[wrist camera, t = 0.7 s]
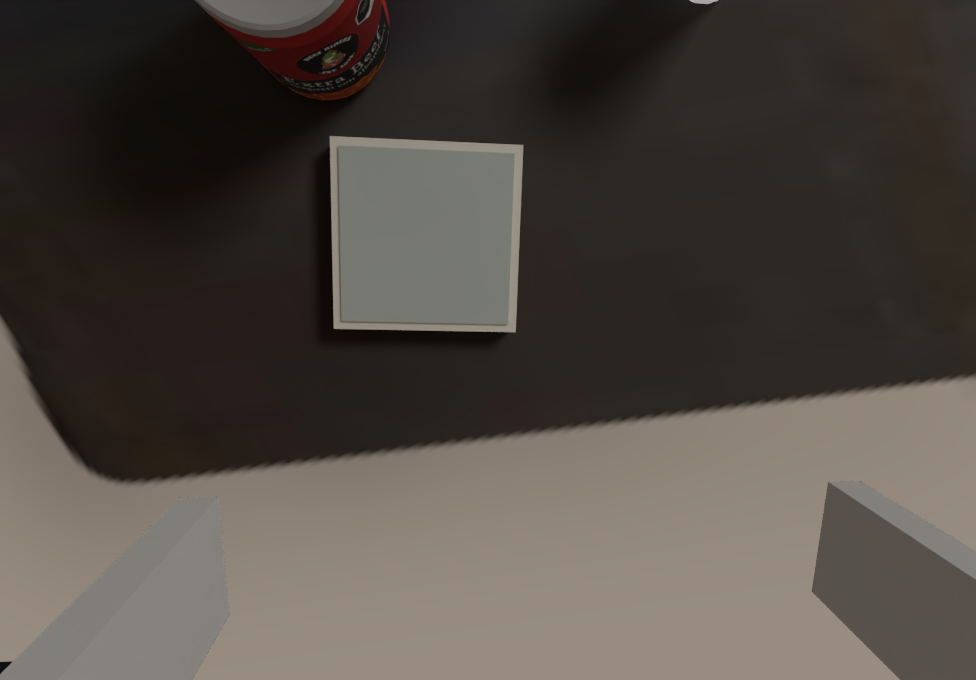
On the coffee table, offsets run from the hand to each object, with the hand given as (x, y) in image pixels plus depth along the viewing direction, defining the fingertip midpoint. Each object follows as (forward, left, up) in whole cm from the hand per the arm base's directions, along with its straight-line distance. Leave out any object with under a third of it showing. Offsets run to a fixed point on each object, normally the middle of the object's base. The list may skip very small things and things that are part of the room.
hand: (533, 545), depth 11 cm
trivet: (-7, -3, -23) cm, 24 cm away
